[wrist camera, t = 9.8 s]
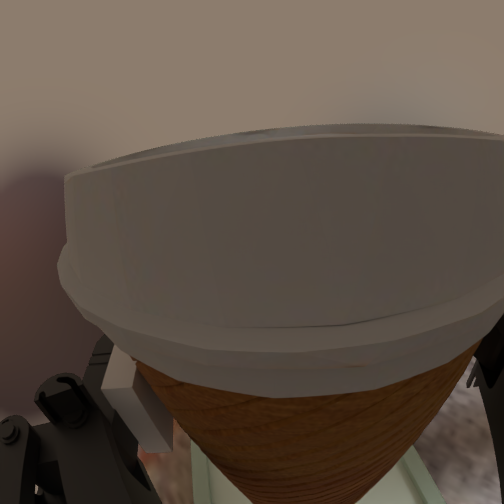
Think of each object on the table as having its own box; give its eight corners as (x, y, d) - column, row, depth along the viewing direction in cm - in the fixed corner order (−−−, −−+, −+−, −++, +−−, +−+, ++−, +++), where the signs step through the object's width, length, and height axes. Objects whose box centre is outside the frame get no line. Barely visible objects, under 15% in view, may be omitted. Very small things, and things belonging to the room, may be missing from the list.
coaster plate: (373, 398, 21) (376, 384, 20) (450, 538, 8) (462, 532, 7) (197, 440, 19) (190, 428, 19) (214, 607, 7) (205, 608, 6)
